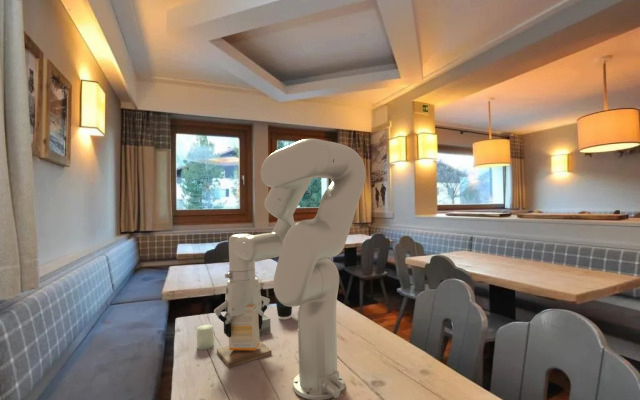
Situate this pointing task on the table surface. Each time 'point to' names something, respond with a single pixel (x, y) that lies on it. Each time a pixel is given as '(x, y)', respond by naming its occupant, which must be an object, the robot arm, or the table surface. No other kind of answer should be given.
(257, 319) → the supplement box
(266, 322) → the gray block
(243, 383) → the table surface
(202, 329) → the sage capsule
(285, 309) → the dixie cup
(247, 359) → the tan board
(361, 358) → the table surface
